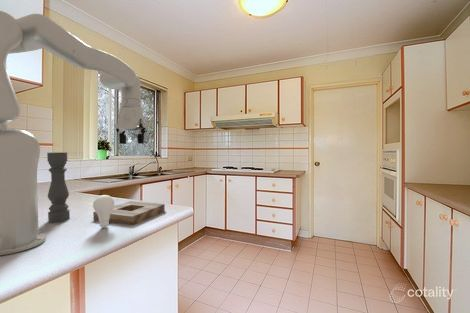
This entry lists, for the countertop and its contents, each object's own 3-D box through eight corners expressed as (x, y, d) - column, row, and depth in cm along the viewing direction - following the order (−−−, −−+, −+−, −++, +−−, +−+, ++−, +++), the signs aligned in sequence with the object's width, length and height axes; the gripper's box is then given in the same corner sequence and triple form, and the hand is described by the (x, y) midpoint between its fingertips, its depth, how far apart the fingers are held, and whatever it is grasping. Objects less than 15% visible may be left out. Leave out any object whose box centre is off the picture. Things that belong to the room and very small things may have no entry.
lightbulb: (98, 232, 69) (97, 197, 69) (90, 228, 73) (89, 195, 73) (118, 227, 74) (117, 194, 74) (110, 223, 78) (109, 192, 77)
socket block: (132, 225, 76) (132, 216, 76) (93, 219, 82) (93, 211, 82) (164, 211, 93) (164, 204, 93) (130, 207, 99) (130, 201, 99)
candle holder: (57, 223, 78) (55, 152, 77) (43, 222, 79) (41, 152, 78) (73, 218, 84) (72, 152, 83) (60, 217, 85) (58, 152, 84)
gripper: (108, 103, 95) (108, 143, 95) (141, 101, 90) (141, 143, 90) (122, 107, 102) (122, 144, 103) (153, 104, 97) (153, 143, 97)
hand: (131, 143), depth 96 cm, fingers open, 9 cm apart
